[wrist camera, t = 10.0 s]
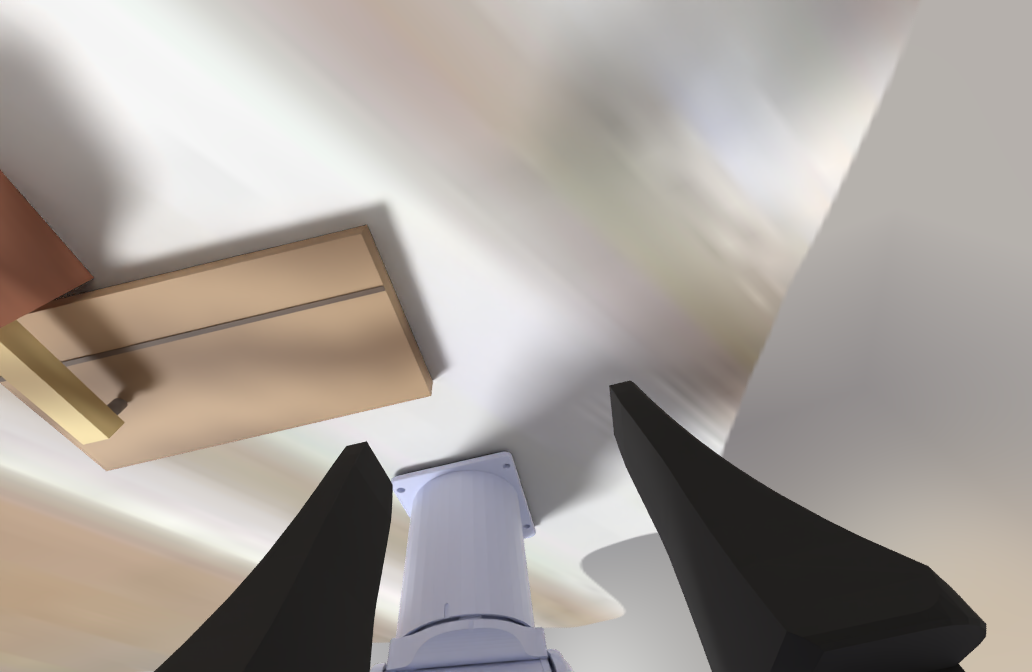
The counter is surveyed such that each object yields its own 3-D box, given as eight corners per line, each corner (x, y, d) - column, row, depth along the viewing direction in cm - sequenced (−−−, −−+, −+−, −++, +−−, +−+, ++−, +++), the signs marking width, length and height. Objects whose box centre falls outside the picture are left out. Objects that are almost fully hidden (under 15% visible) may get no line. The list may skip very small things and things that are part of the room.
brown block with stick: (185, 381, 21) (114, 458, 16) (111, 398, 21) (21, 480, 16) (-12, 154, 15) (-204, 185, 10) (-116, 180, 15) (-347, 221, 10)
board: (432, 381, 22) (431, 396, 21) (122, 453, 23) (105, 472, 21) (367, 224, 17) (360, 234, 16) (-29, 320, 18) (-60, 335, 17)
